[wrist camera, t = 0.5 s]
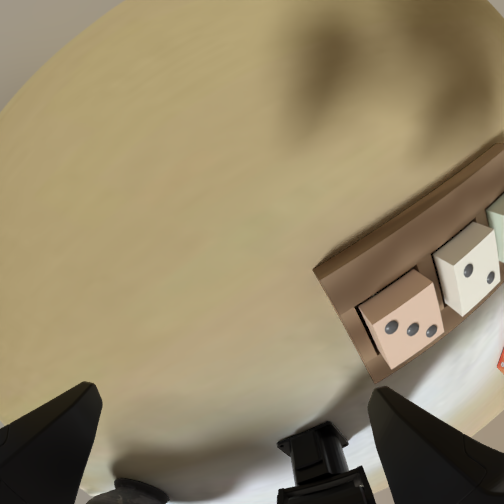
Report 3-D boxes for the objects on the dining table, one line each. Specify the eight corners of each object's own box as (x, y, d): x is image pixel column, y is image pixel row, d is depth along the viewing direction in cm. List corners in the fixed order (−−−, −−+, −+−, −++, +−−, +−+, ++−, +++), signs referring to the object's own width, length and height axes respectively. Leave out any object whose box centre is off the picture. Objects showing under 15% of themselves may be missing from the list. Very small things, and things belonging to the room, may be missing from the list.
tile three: (427, 316, 19) (444, 332, 17) (378, 350, 20) (392, 370, 17) (413, 268, 18) (433, 282, 15) (358, 306, 18) (372, 325, 16)
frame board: (517, 247, 20) (529, 252, 18) (367, 370, 23) (375, 384, 21) (496, 143, 17) (510, 143, 15) (312, 269, 19) (319, 280, 18)
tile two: (481, 270, 18) (501, 281, 16) (445, 302, 19) (463, 317, 16) (472, 221, 17) (494, 229, 14) (432, 254, 18) (454, 266, 15)
